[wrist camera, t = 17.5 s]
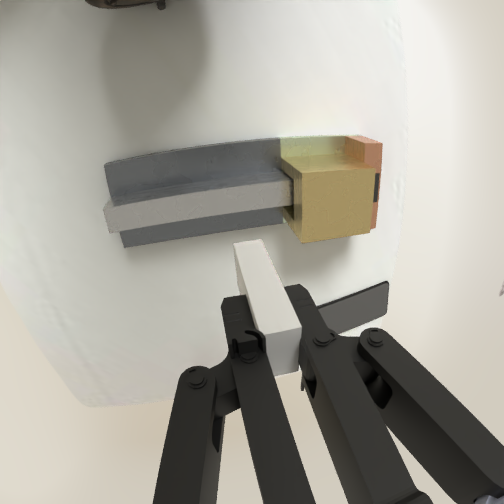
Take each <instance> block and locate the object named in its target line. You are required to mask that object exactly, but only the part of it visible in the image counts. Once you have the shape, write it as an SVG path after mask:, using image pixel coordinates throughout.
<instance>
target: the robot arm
mask: <svg viewBox="0 0 504 504" xmlns="http://www.w3.org/2000/svg"><path fill="white" fill-rule="evenodd" d="M233 246H234V255H235V264H236V273H237V282H238V287H239V291H240V295H239V296H233V297H227V298H224V299H223V302H222V305H221V310H222V316H223V322H224V327H225V333H226V338H227V343H228V349H229V352H228V355H227V357H226V358H225V360H224V361H223V362H221V363H220V364H218V365H216V366H214V367H212V368H210V369H209V368H207V367H203V366H194V367H191V368H188V369H186V370H185V371H184V372H183V373H182V374H181V376H180V378H179V381H178V385H177V390H176V394H175V398H174V403H173V407H172V412H171V416H170V420H169V425H168V430H167V434H166V439H165V444H164V448H163V453H162V458H161V463H160V468H159V473H158V478H157V483H156V489H155V494H154V499H153V504H216V500H217V491H218V481H219V471H220V462H221V452H222V443H223V433H224V424H225V415H227V414H229V413H231V412H233V411H235V410H237V409H239V408H241V412H242V417H243V421H244V426H245V430H246V434H247V439H248V443H249V447H250V451H251V456H252V460H253V464H254V468H255V472H256V476H257V480H258V484H259V488H260V492H261V496H262V500H263V504H316V503H315V500H314V497H313V494H312V491H311V488H310V485H309V482H308V479H307V476H306V473H305V470H304V467H303V464H302V461H301V458H300V455H299V452H298V449H297V446H296V443H295V440H294V437H293V434H292V431H291V428H290V424H289V421H288V418H287V415H286V412H285V409H284V406H283V403H282V400H281V397H280V393H279V390H278V388H277V384H276V381H275V378H274V376H278V375H283V374H287V373H292V372H296V371H298V369H299V365H300V368H301V370H302V380H301V391H304V387H305V390H306V392H307V395H308V398H309V400H310V403H311V405H312V408H313V411H314V413H315V416H316V419H317V421H318V424H319V427H320V429H321V432H322V435H323V437H324V440H325V443H326V445H327V448H328V451H329V453H330V456H331V458H332V461H333V464H334V466H335V469H336V472H337V474H338V477H339V479H340V482H341V485H342V487H343V490H344V493H345V495H346V498H347V501H348V503H349V504H433V502H432V500H431V499H430V497H429V496H428V495H427V494H426V493H424V492H421V491H419V490H418V489H417V488H416V486H415V485H414V483H413V480H412V478H411V476H410V474H409V472H408V470H407V468H406V466H405V464H404V462H403V460H402V457H401V455H400V453H399V451H398V449H397V447H396V445H395V443H394V441H393V439H392V437H391V435H390V433H389V431H388V429H387V427H388V428H389V429H390V430H391V431H392V432H393V434H394V435H395V436H396V437H397V438H398V439H399V440H400V441H401V443H402V444H403V445H404V446H405V447H406V448H407V450H409V452H410V453H411V454H412V455H413V456H414V458H415V459H416V460H417V461H418V462H419V463H420V464H421V465H422V466H423V468H424V469H425V470H426V471H427V472H428V473H429V474H430V476H431V477H432V478H433V479H434V480H435V481H436V482H437V483H438V484H439V486H440V487H441V488H442V489H443V490H444V491H445V492H446V493H447V495H448V496H449V497H450V498H452V500H453V501H454V502H456V503H457V504H504V446H503V445H502V444H501V443H500V442H499V441H498V440H497V439H496V438H495V437H494V436H493V435H492V434H491V433H490V432H489V431H488V430H487V429H486V427H484V426H483V424H481V422H480V421H478V420H477V418H476V417H475V416H474V415H473V414H472V413H471V412H470V411H469V410H468V409H467V408H466V407H464V405H462V403H461V402H459V401H458V400H457V398H455V397H454V396H453V395H452V394H451V393H450V392H449V391H448V390H447V389H446V388H445V387H444V386H443V385H442V384H441V383H440V382H439V381H438V380H437V379H436V378H435V377H434V376H433V375H432V374H431V373H430V372H429V371H428V370H427V369H426V368H424V367H423V366H422V365H421V364H420V363H419V362H418V361H417V360H416V359H415V358H414V357H413V356H412V355H411V354H410V353H409V352H408V351H407V350H406V349H404V348H403V347H402V346H401V345H400V344H399V343H398V342H397V341H396V340H395V339H393V337H392V336H391V335H389V334H388V333H387V332H386V331H384V330H383V329H379V328H368V329H365V330H364V331H363V332H362V333H361V335H360V337H346V336H340V335H338V334H337V333H336V332H335V331H333V330H331V329H329V328H328V327H327V325H326V323H325V321H324V320H323V318H322V316H321V314H320V312H319V310H318V308H317V307H316V305H315V303H314V301H313V299H312V297H311V295H310V294H309V292H308V290H307V289H306V288H304V287H303V286H302V285H300V284H297V285H291V286H286V287H283V284H282V282H281V280H280V278H279V276H278V274H277V271H276V269H275V267H274V265H273V263H272V261H271V258H270V256H269V254H268V252H267V250H266V248H265V245H264V243H263V241H262V239H257V240H251V241H244V242H238V243H233ZM385 424H386V425H385ZM386 426H387V427H386Z"/></svg>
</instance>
